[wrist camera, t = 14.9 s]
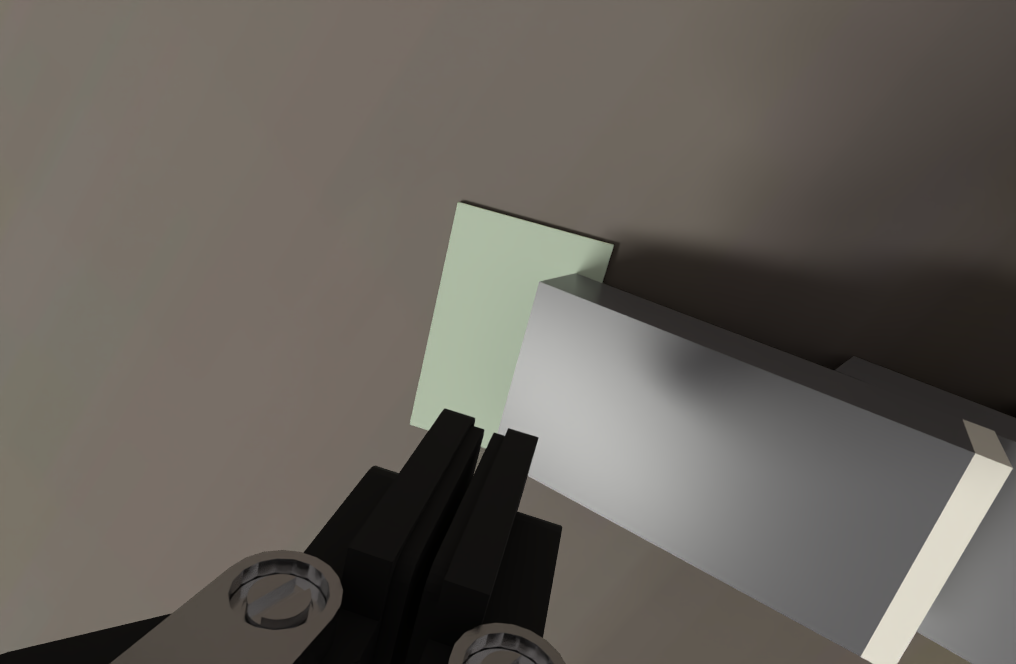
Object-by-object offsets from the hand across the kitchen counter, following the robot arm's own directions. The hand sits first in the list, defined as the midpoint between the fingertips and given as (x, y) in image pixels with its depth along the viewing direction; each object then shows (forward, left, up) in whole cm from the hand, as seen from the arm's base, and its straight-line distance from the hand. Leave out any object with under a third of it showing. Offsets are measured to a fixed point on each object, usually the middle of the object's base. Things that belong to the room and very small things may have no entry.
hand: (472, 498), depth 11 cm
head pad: (0, +1, -8) cm, 8 cm away
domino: (0, 0, -7) cm, 7 cm away
